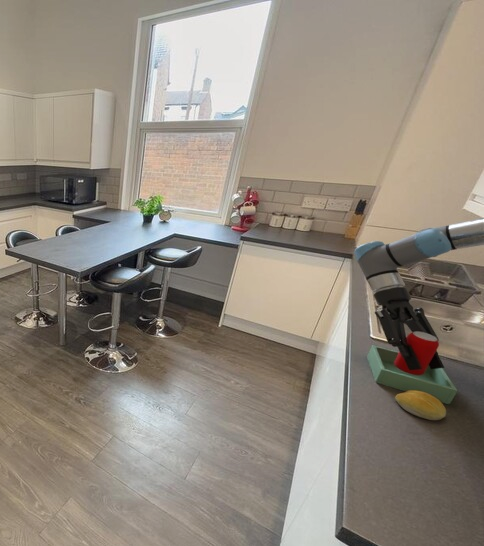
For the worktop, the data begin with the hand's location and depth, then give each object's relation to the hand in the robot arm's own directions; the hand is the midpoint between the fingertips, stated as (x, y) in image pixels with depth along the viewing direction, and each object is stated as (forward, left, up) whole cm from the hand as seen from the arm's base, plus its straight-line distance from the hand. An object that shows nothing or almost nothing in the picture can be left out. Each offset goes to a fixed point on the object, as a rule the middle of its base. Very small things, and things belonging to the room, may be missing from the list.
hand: (426, 368), depth 85 cm
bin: (+2, -3, -6) cm, 7 cm away
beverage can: (+2, -3, -4) cm, 5 cm away
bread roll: (+2, +11, -6) cm, 13 cm away
